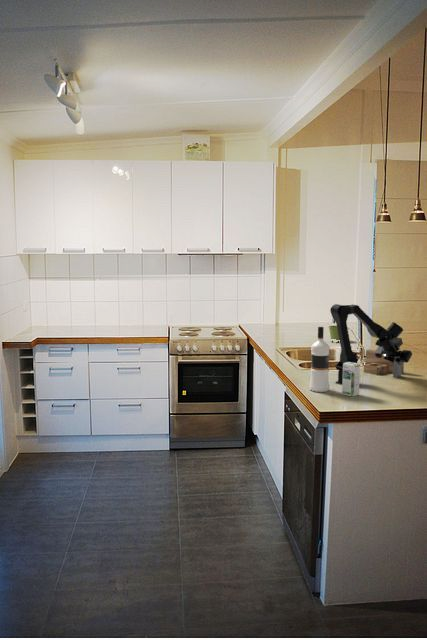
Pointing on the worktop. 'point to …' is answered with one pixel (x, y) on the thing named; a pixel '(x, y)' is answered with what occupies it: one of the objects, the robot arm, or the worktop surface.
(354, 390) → the syrup box
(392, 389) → the worktop surface
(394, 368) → the grey bar
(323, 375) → the vodka
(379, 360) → the wooden socket
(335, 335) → the plant pot
